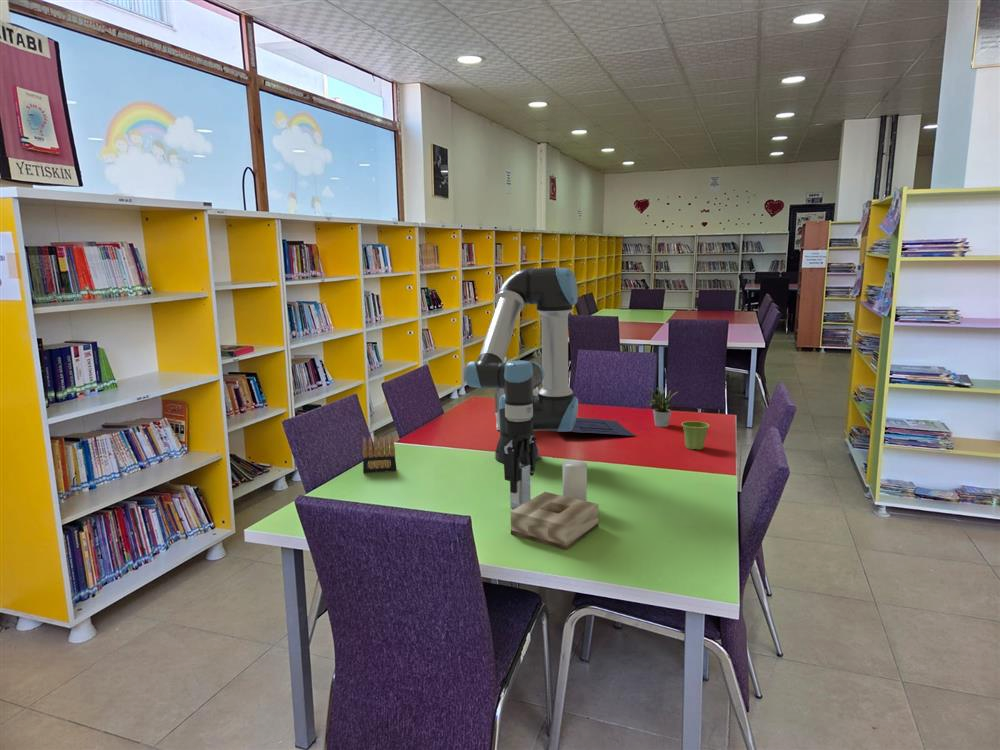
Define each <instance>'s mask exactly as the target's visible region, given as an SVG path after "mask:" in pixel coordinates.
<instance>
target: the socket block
mask: <svg viewBox="0 0 1000 750" xmlns="http://www.w3.org/2000/svg"><path fill="white" fill-rule="evenodd" d="M530 499H531V500H529V501H528V502H526V503H524V504H522V505H521V506H519V507H517V508H515V509H514V508H512V510H510V535H513V536H517V537H521V538H525V539H527V540H531V541H535V542H539V543H541V544H545V545H549V546H552V547H556V548H560V549H562V550H566V551H567V550H568V549H570V548H572V547H573V546H574V545H575V544H577V543H578V542H580V541H581V540H582V539H584V538H585V537H586V536H587V535H589V534H590V533H592V532H593V531H594V530H595V529H597V528H598V527H599V513H600V512H599V509H600V508H599V503H595V502H592V501H583V500H579V499H574V498H570V497H566V496H563V495H560V494H556V493H551V492H547V491H544V492H542V493H540V494H538V495H536V496H535V497H533V498H530Z"/></svg>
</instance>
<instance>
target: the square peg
mask: <svg viewBox="0 0 1000 750" xmlns="http://www.w3.org/2000/svg"><path fill="white" fill-rule="evenodd" d="M518 481H520V504H515V503H511V492H510V491H509V492H510V493H509V495H510V497H509V499H510V501H509V502H510V504H509V505H510V508H511V509H515V508H517V507H519V506H521V505H522V504H524V503H526V502H528V501H529V500H531V499H532V498H531V475H530V464H525V463H520V467H519V477H518Z"/></svg>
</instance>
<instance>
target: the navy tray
mask: <svg viewBox="0 0 1000 750" xmlns="http://www.w3.org/2000/svg"><path fill="white" fill-rule="evenodd" d="M568 432H571V433H572V432H573V433H583V434H584V433H585V434H588V433H590V434H604V435H605V434H606V435H619V436H631V437H636V436H637V435H636V434H634V433H633V432H631V431H630V430H628V429H626V427H625V426H623V425H622V424H621V423H619V422H618V421H617V420H610V419H602V418H588V417H587V418H586V417H576V421H575V424H574V427H573V429H572V430H571V431H568Z"/></svg>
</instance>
